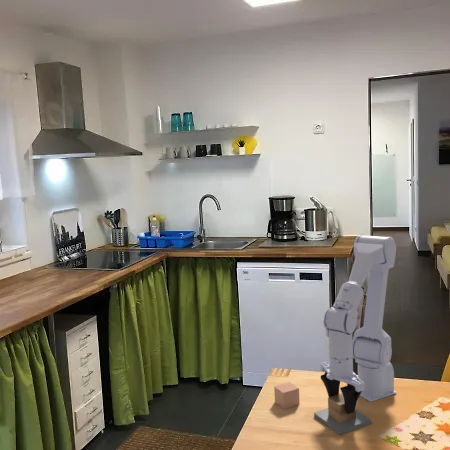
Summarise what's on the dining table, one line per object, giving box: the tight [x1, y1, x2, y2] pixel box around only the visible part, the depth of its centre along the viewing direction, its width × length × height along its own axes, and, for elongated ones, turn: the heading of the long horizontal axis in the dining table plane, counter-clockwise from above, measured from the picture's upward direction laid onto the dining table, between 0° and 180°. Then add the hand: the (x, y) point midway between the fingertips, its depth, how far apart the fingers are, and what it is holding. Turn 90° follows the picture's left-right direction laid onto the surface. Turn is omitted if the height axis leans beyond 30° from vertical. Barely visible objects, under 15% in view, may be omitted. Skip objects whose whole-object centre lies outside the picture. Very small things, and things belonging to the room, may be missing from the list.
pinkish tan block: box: [273, 381, 300, 410], centre depth 135 cm, size 5×4×5 cm
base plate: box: [313, 407, 372, 436], centre depth 125 cm, size 10×10×1 cm
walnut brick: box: [327, 392, 357, 423], centre depth 125 cm, size 5×4×5 cm
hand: (342, 407), depth 125 cm, fingers open, 6 cm apart
